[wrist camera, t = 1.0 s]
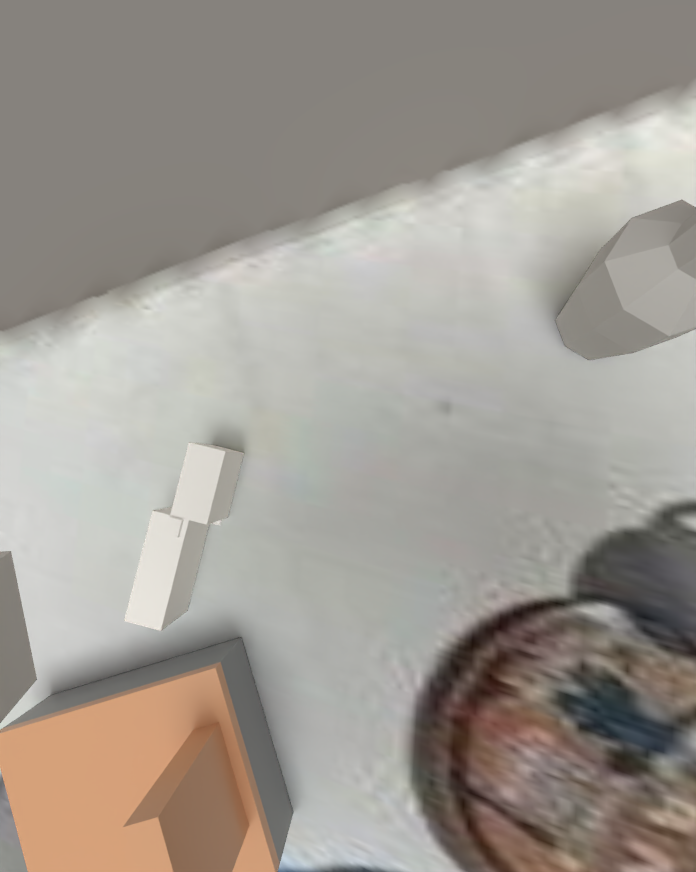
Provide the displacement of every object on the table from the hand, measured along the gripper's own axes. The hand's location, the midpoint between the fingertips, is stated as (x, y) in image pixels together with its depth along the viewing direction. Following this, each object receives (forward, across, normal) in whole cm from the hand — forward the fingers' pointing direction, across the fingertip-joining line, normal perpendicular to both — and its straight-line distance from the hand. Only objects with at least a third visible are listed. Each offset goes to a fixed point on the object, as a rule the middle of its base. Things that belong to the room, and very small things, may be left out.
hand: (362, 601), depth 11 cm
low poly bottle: (+30, -16, -3) cm, 34 cm away
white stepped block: (+28, +11, +9) cm, 32 cm away
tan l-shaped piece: (+20, +14, +23) cm, 33 cm away
